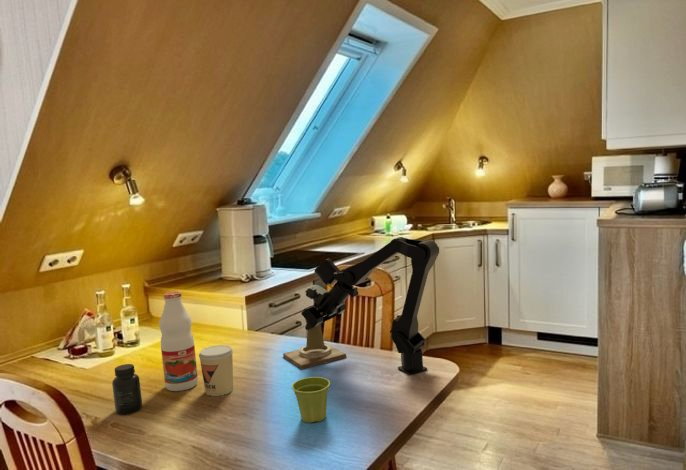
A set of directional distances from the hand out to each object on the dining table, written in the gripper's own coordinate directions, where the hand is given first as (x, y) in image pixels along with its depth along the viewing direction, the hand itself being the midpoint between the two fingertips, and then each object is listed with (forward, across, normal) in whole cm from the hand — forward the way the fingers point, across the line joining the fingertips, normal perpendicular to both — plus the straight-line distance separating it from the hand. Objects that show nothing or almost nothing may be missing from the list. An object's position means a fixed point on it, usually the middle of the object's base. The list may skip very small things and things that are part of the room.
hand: (310, 326), depth 181 cm
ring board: (+6, +1, +8) cm, 10 cm away
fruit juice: (+23, +36, -10) cm, 44 cm away
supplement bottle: (+24, +54, -10) cm, 60 cm away
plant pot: (-10, +38, +25) cm, 47 cm away
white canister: (+14, +34, 0) cm, 37 cm away
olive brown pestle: (+4, 0, +6) cm, 7 cm away
